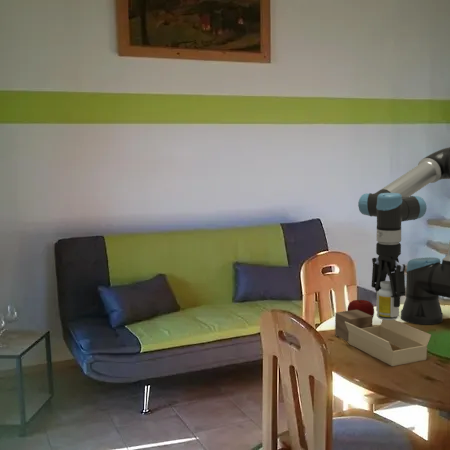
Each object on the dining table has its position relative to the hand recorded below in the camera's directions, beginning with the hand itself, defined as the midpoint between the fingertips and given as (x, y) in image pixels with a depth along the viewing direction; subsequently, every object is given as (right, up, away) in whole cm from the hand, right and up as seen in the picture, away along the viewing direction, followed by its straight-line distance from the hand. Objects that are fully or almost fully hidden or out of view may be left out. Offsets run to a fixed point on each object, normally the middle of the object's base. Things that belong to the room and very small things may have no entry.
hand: (387, 313), depth 203 cm
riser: (-8, -10, +16) cm, 21 cm away
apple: (-3, -9, +28) cm, 29 cm away
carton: (0, -12, +2) cm, 12 cm away
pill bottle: (0, -2, 0) cm, 2 cm away
